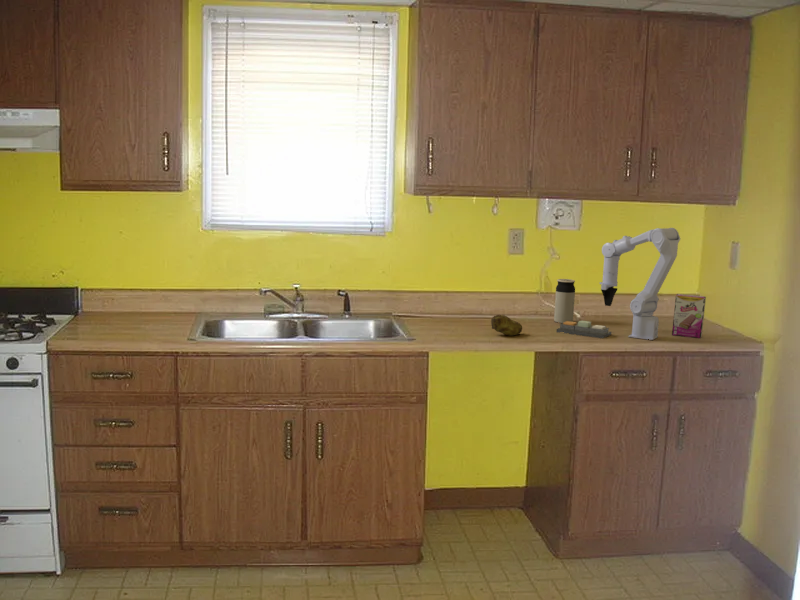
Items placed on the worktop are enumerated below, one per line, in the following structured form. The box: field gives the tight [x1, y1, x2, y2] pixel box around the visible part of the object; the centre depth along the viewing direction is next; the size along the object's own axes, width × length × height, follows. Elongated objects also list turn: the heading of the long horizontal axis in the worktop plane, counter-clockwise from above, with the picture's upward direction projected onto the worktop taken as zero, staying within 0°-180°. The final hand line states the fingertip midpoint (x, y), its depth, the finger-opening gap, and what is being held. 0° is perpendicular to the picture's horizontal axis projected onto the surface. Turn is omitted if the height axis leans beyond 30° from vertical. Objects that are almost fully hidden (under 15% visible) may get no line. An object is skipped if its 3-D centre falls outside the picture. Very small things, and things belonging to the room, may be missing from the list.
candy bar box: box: [671, 293, 707, 339], centre depth 327 cm, size 11×5×16 cm, turn 66°
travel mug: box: [553, 278, 576, 324], centre depth 348 cm, size 8×8×18 cm
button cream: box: [592, 324, 606, 329], centre depth 323 cm, size 4×4×2 cm
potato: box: [490, 314, 523, 336], centre depth 318 cm, size 8×13×8 cm, turn 95°
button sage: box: [577, 320, 592, 327], centre depth 326 cm, size 4×4×2 cm
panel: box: [556, 322, 612, 339], centre depth 326 cm, size 19×10×3 cm, turn 58°
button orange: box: [563, 321, 578, 326], centre depth 329 cm, size 4×4×2 cm
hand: (608, 305), depth 334 cm, fingers closed
